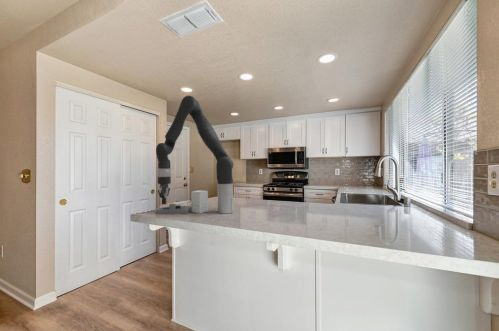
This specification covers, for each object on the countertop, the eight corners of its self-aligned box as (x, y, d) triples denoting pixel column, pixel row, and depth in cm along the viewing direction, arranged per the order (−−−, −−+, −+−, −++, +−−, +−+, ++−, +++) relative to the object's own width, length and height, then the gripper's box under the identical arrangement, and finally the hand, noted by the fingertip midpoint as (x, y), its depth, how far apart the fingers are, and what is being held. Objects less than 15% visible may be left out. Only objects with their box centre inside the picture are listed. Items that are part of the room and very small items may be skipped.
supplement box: (208, 211, 134) (208, 190, 134) (199, 213, 127) (199, 192, 127) (199, 210, 138) (199, 190, 138) (190, 212, 131) (190, 191, 131)
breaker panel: (192, 209, 139) (192, 200, 139) (187, 213, 127) (186, 204, 127) (164, 209, 139) (164, 200, 139) (156, 214, 127) (156, 204, 127)
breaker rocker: (190, 202, 137) (189, 199, 137) (186, 204, 129) (186, 201, 129) (165, 205, 137) (164, 203, 137) (159, 207, 129) (159, 205, 129)
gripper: (166, 176, 126) (165, 206, 126) (174, 175, 139) (174, 202, 139) (153, 176, 126) (153, 206, 126) (162, 175, 139) (162, 202, 139)
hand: (164, 204), depth 133 cm, fingers closed
